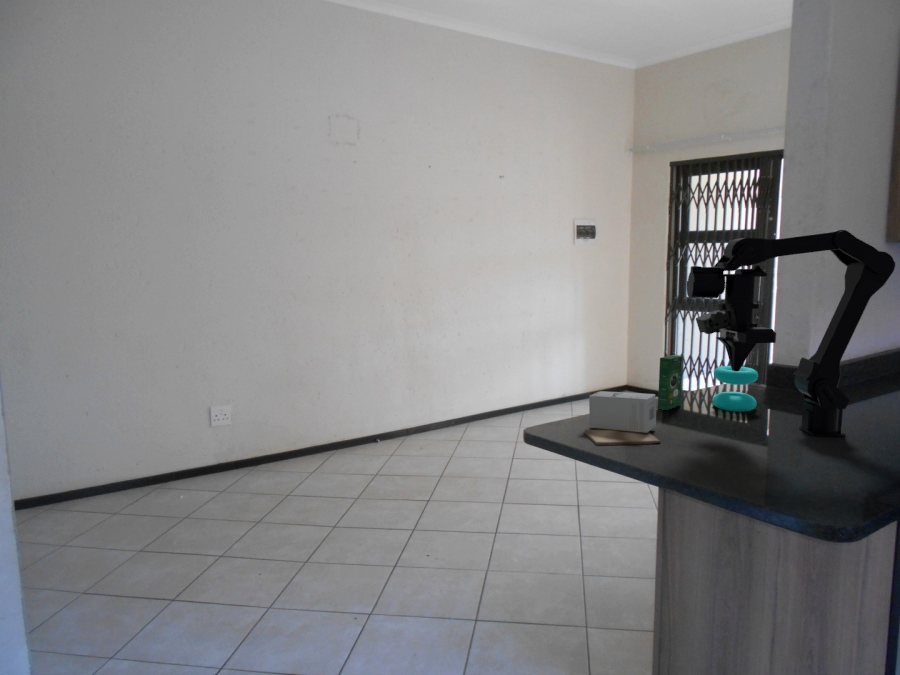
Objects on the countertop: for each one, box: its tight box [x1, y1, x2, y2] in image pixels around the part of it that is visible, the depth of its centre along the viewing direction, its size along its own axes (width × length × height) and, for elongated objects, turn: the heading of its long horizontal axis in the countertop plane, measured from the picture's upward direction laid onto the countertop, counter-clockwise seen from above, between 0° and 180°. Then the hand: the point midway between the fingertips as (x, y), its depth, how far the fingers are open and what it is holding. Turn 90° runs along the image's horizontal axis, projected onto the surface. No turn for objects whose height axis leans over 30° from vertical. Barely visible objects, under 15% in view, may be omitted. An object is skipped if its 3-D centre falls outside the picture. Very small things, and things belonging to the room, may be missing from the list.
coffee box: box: [657, 354, 684, 411], centre depth 151 cm, size 8×3×13 cm, turn 137°
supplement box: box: [588, 390, 657, 433], centre depth 133 cm, size 7×7×13 cm
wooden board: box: [583, 429, 661, 446], centre depth 127 cm, size 13×9×1 cm
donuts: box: [712, 365, 759, 413], centre depth 151 cm, size 10×10×10 cm
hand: (735, 371), depth 130 cm, fingers closed
